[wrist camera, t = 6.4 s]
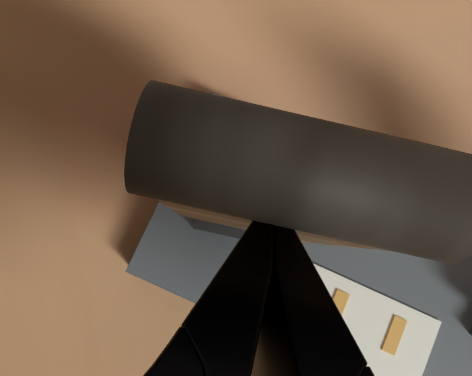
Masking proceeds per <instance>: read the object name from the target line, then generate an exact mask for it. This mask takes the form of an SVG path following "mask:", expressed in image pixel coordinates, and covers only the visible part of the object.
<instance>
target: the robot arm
mask: <svg viewBox="0 0 472 376" xmlns="http://www.w3.org/2000/svg"><path fill="white" fill-rule="evenodd" d="M366 366H367V361H366V359H365V357H364V356H363V354H362V352H361V350H360V348H359V346H358V345H357V343H356V341H355V339H354V337H353V335H352V334H351V332H350V330H349V328H348V326H347V324H346V323H345V321H344V319H343V317H342V315H341V313H340V312H339V310H338V308H337V306H336V304H335V302H334V301H333V299H332V297H331V295H330V293H329V292H328V290H327V288H326V286H325V284H324V282H323V281H322V279H321V277H320V275H319V273H318V271H317V270H316V268H315V266H314V264H313V262H312V260H311V259H310V257H309V255H308V253H307V251H306V249H305V248H304V246H303V244H302V242H301V240H300V238H299V237H298V235H297V233H296V231H295V230H294V229H290V228H285V227H281V226H276V225H272V224H267V223H262V222H258V221H252V222H251V223H250V225H249V226H248V228H247V229H246V231H245V232H244V234H243V235H242V237H241V238H240V240H239V241H238V243H237V244H236V245H235V247H234V248H233V250H232V251H231V253H230V254H229V256H228V257H227V259H226V260H225V262H224V263H223V265H222V266H221V267H220V269H219V270H218V272H217V273H216V275H215V276H214V278H213V279H212V281H211V282H210V284H209V285H208V286H207V288H206V289H205V291H204V292H203V294H202V295H201V297H200V298H199V300H198V301H197V303H196V304H195V306H194V307H193V308H192V310H191V311H190V313H189V314H188V316H187V317H186V319H185V320H184V322H183V323H182V325H181V327H179V329H178V330H177V331H176V333H175V334H174V336H173V337H172V339H171V340H170V342H169V343H168V344H167V346H166V347H165V348H164V350H163V351H162V353H161V354H160V355H159V357H158V358H157V359H156V361H155V362H154V363H153V365H152V366H151V367H150V368H149V369H148V371H147V372H146V373H145V374H144V375H143V376H251V374H252V376H375V375H374V373H373V372H372V370H371V368H370V367H369V366H367V367H366Z"/></svg>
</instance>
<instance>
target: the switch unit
mask: <svg viewBox="0 0 472 376" xmlns="http://www.w3.org/2000/svg"><path fill="white" fill-rule="evenodd" d="M211 94H213V95H217V94H215V93H212V92H211ZM218 96H219V95H218ZM245 231H246V230H244V229H240V228H235V227H231V226H226V225H222V224H217V223H213V222H208V221H204V220H199V219H194V218H190V217H185V216H182V215H180V214H179V213H177V212H175V211H174V210H172V209H170V208H169V207H167V206H165V205H164V204H162V203H160V202H159V203H158V205H157V207H156V209H155V211H154V213H153V215H152V217H151V220H150V222H149V224H148V226H147V228H146V230H145V232H144V234H143V236H142V238H141V240H140V242H139V244H138V247H137V249H136V251H135V253H134V255H133V257H132V259H131V261H130V263H129V265H128V267H127V269H126V272H128V273H130V274H132V275H134V276H136V277H139V278H141V279H143V280H145V281H147V282H150V283H152V284H154V285H156V286H158V287H161V288H163V289H165V290H167V291H170V292H172V293H174V294H176V295H178V296H181V297H183V298H185V299H187V300H189V301H192V302H194V303H197V301H198V300H199V298H200V297H201V295H202V294H203V292H204V291H205V289H206V288H207V286H208V285H209V284H210V282H211V281H212V279H213V278H214V276H215V275H216V273H217V272H218V270H219V269H220V267H221V266H222V265H223V263H224V262H225V260H226V259H227V257H228V256H229V254H230V253H231V251H232V250H233V248H234V247H235V245H236V244H237V243H238V241H239V240H240V238H241V237H242V235H243V234H244V232H245ZM302 244H303V246H304V248H305V249H306V251H307V253H308V255H309V257H310V259H311V260H312V262H313V264H314V266H315V268H316V270H317V271H318V273H319V275H320V277H321V279H322V281H323V282H324V284H325V286H326V288H327V290H328V292H329V293H330V295H331V297H332V299H333V301H334V302H335V304H336V306H337V308H338V310H339V312H340V313H341V315H342V317H343V319H344V321H345V323H346V324H347V326H348V328H349V330H350V332H351V334H352V335H353V337H354V339H355V341H356V343H357V345H358V346H359V348H360V350H361V352H362V354H363V356H364V357H365V359H366V361H367V366H369V367H370V368H371V370H372V372H373V373H374V375H375V376H472V254H471V255H470V256H469V257H468V258H466V259H465V260H463V261H461V262H459V263H455V264H448V263H443V262H439V261H434V260H430V259H425V258H421V257H416V256H412V255H407V254H403V253H398V252H394V251H386V250H376V249H366V248H355V247H345V246H335V245H325V244H315V243H305V242H302ZM367 366H366V367H367Z"/></svg>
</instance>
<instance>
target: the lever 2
mask: <svg viewBox="0 0 472 376" xmlns="http://www.w3.org/2000/svg"><path fill="white" fill-rule="evenodd" d="M124 178H125V187H126V190H127V192H128V193H131V194H136V195H140V196H145V197H149V198H154V199H155V200H157V201H159V202H160V203H162V204H164V205H165V206H167V207H169V208H170V209H172V210H174V211H175V212H177V213H179V214H180V215H182V216H185V217H190V218H194V219H199V220H204V221H208V222H213V223H217V224H222V225H226V226H231V227H235V228H240V229H244V230H246V229H247V228H248V226H249V225H250V223H251V222H252V221H258V222H262V223H267V224H272V225H276V226H281V227H285V228H290V229H294V230H295V231H296V233H297V235H298V237H299V238H300V240H301V242H305V243H315V244H325V245H335V246H345V247H355V248H366V249H376V250H386V251H394V252H398V253H403V254H407V255H412V256H416V257H421V258H425V259H430V260H434V261H439V262H443V263H448V264H455V263H459V262H461V261H463V260H465V259H466V258H468V257H469V256H470V255H471V254H472V154H469V153H464V152H460V151H456V150H451V149H447V148H443V147H439V146H434V145H430V144H426V143H421V142H417V141H413V140H408V139H404V138H400V137H395V136H391V135H387V134H382V133H378V132H374V131H369V130H365V129H361V128H356V127H352V126H348V125H343V124H339V123H335V122H330V121H326V120H322V119H317V118H313V117H309V116H304V115H300V114H296V113H291V112H287V111H283V110H278V109H274V108H270V107H265V106H261V105H257V104H252V103H248V102H244V101H239V100H235V99H231V98H226V97H222V96H218V95H213V94H209V93H205V92H200V91H196V90H192V89H187V88H183V87H179V86H174V85H170V84H166V83H162V82H157V81H153V80H152V81H150V82H148V84H147V85H146V86H145V88H144V90H143V92H142V94H141V96H140V99H139V101H138V104H137V107H136V110H135V113H134V117H133V120H132V124H131V128H130V133H129V138H128V143H127V149H126V157H125V170H124Z"/></svg>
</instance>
